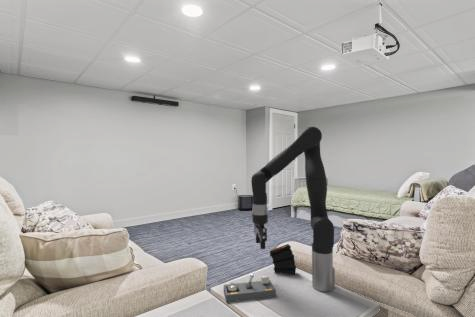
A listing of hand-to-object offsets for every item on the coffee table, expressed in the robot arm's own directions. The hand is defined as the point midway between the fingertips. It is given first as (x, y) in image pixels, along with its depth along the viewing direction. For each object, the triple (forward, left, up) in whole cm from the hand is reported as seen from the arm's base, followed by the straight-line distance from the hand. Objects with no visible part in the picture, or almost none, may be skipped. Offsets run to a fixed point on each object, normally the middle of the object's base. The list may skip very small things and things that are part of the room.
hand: (260, 245), depth 128 cm
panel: (+8, +9, -18) cm, 22 cm away
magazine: (-14, -8, -18) cm, 24 cm away
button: (+16, +9, -16) cm, 24 cm away
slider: (0, +7, -15) cm, 16 cm away
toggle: (+8, +9, -14) cm, 18 cm away
